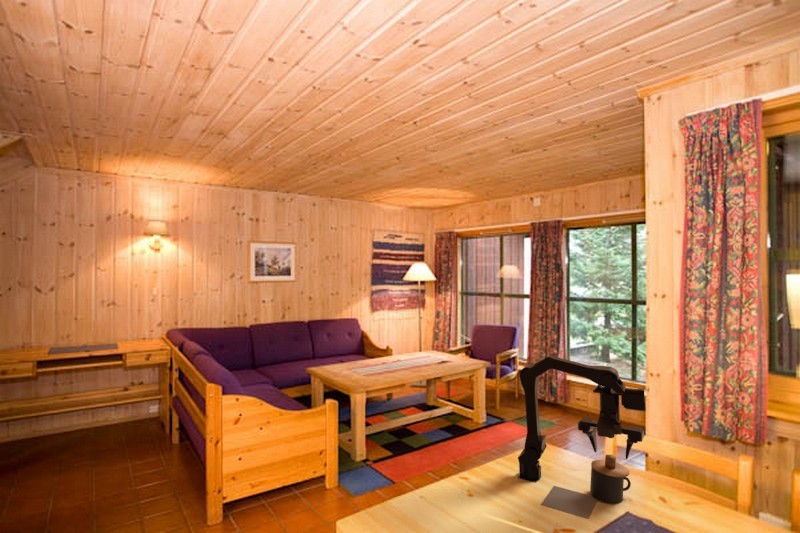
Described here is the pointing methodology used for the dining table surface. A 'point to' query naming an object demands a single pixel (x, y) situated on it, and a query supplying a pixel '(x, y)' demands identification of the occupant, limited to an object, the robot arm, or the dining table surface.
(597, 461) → the lid
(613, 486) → the mug
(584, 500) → the mat
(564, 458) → the dining table surface
